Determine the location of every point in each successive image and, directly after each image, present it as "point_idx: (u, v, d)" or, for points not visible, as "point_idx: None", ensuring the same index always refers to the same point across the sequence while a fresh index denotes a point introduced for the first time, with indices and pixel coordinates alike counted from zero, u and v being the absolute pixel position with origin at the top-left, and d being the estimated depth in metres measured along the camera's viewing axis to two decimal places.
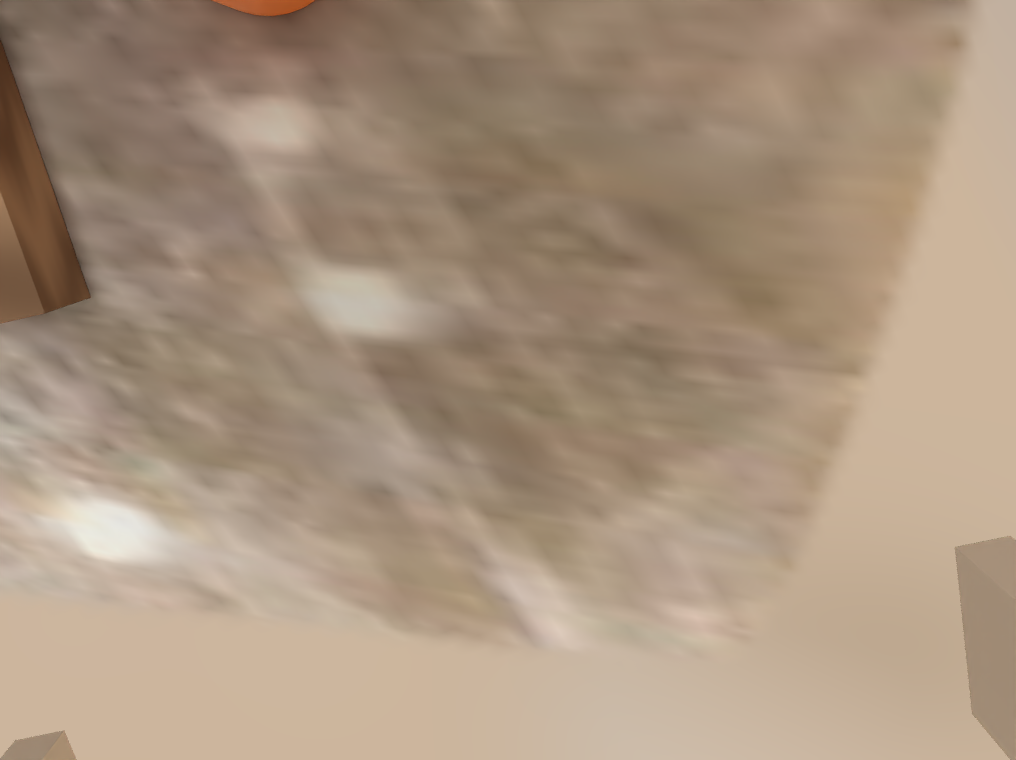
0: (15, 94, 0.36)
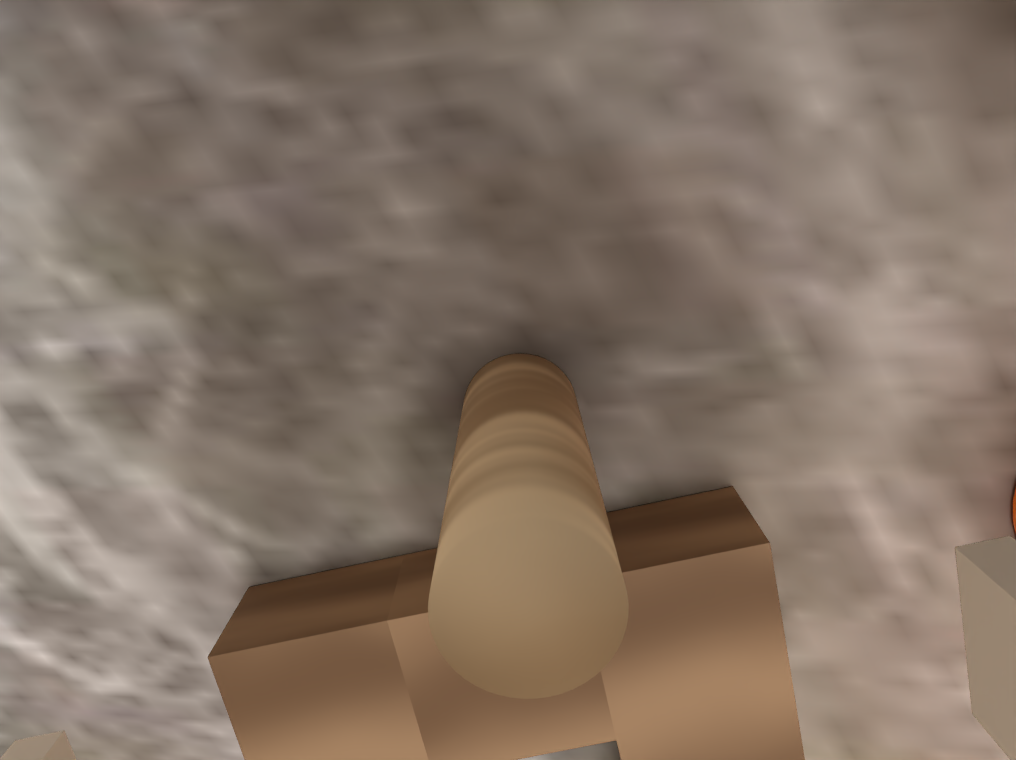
0: None
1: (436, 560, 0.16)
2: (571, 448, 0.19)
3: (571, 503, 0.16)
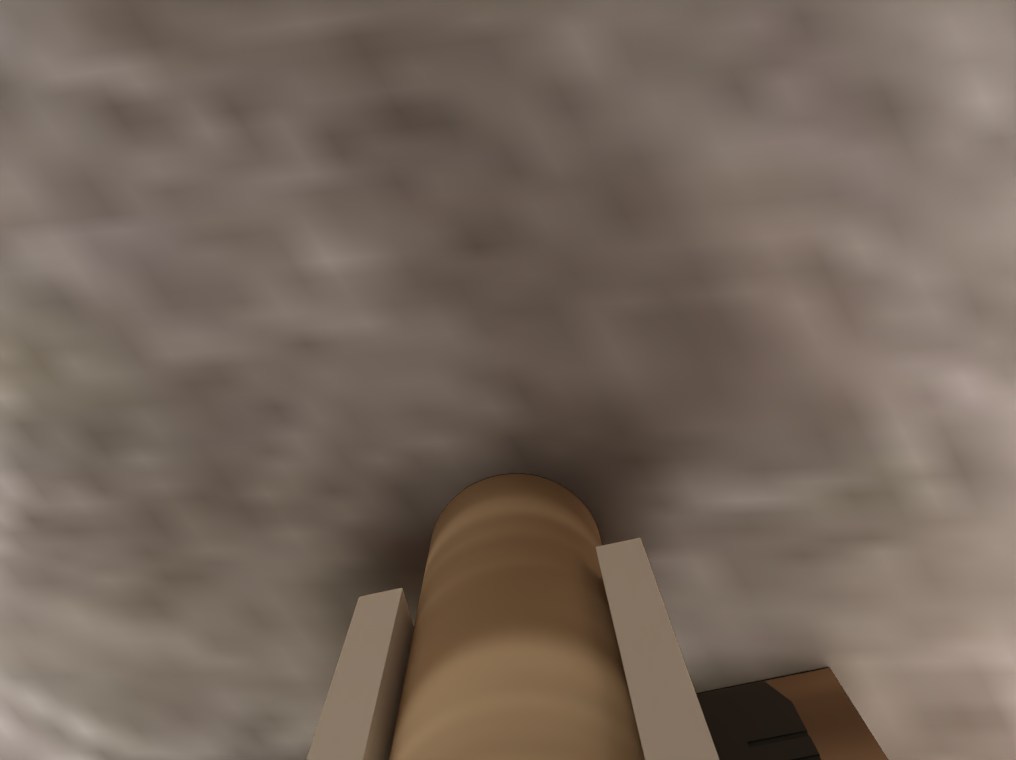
0: None
1: None
2: (615, 740, 0.10)
3: None
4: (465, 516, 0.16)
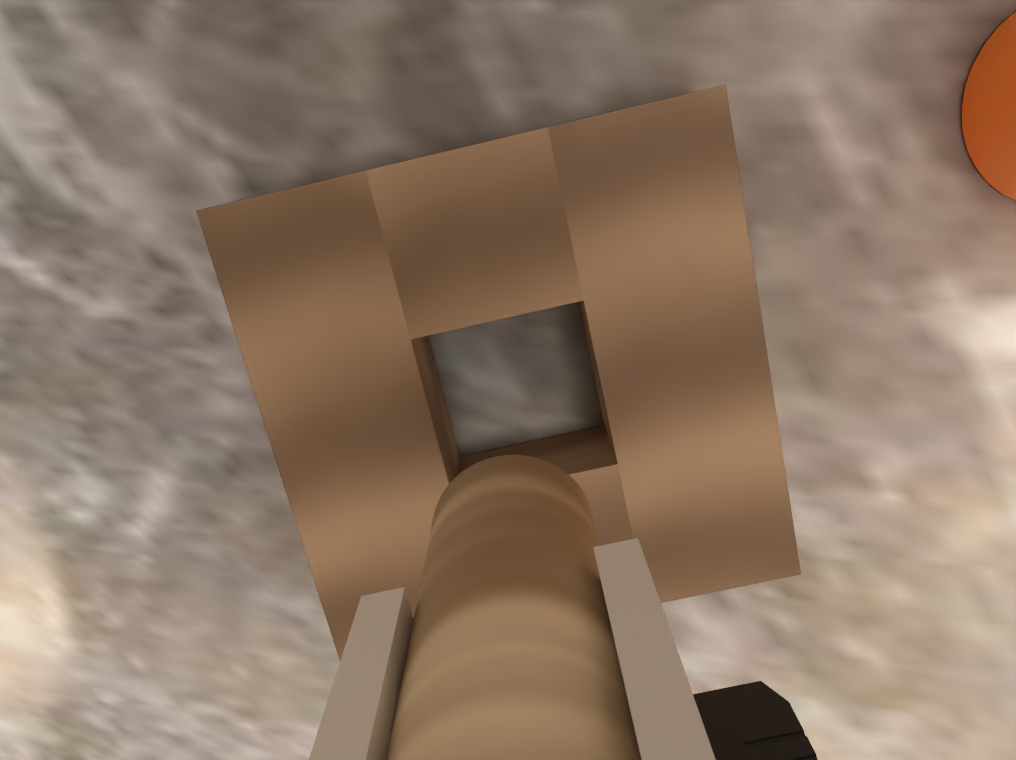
0: None
1: None
2: (602, 683, 0.11)
3: None
4: (466, 493, 0.17)
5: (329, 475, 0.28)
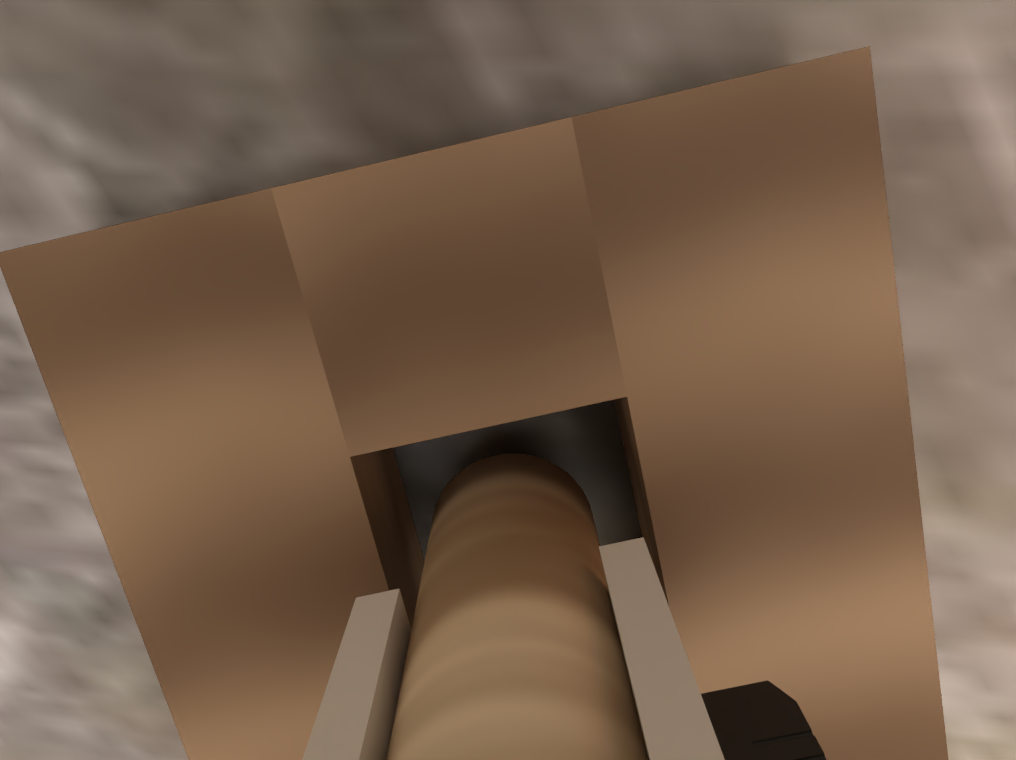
0: None
1: None
2: (602, 680, 0.11)
3: None
4: (466, 492, 0.17)
5: (227, 660, 0.18)
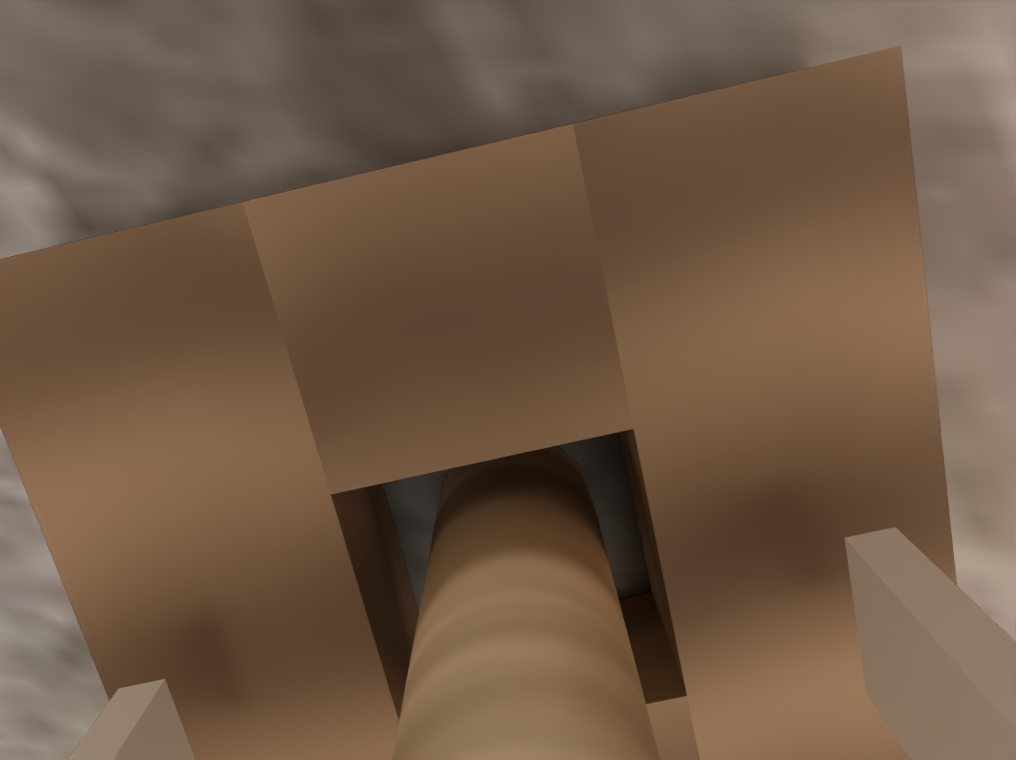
0: None
1: None
2: (598, 627, 0.12)
3: None
4: (472, 469, 0.18)
5: (198, 714, 0.16)
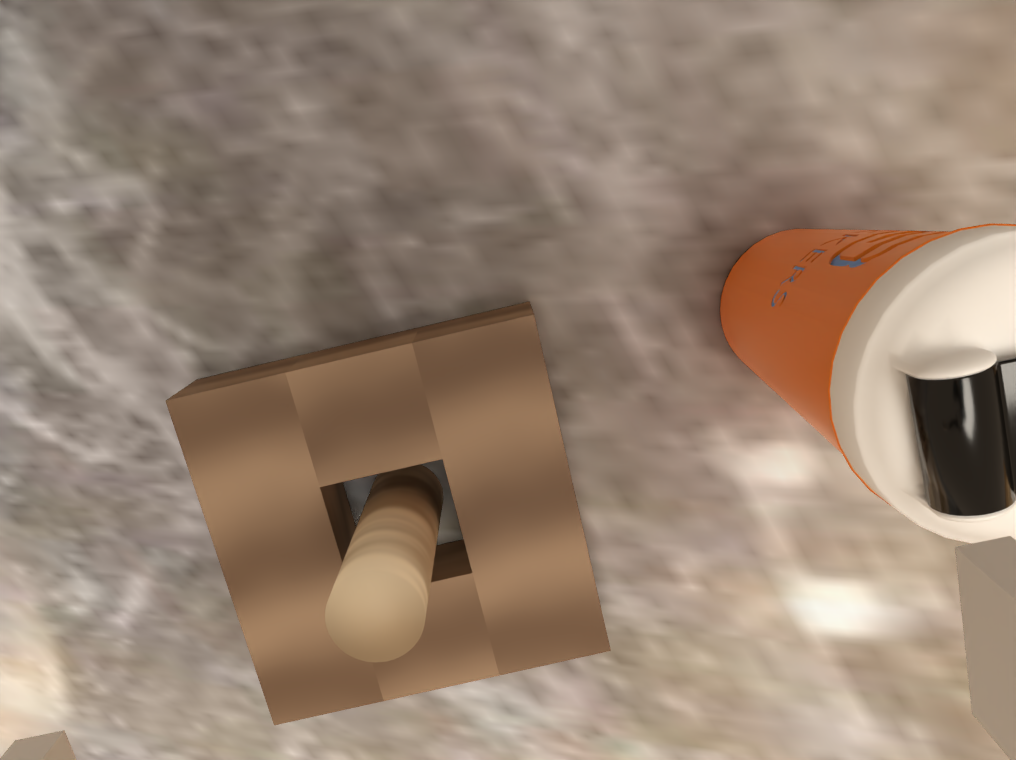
0: None
1: None
2: (414, 529, 0.34)
3: (399, 562, 0.31)
4: (383, 477, 0.40)
5: (262, 583, 0.38)
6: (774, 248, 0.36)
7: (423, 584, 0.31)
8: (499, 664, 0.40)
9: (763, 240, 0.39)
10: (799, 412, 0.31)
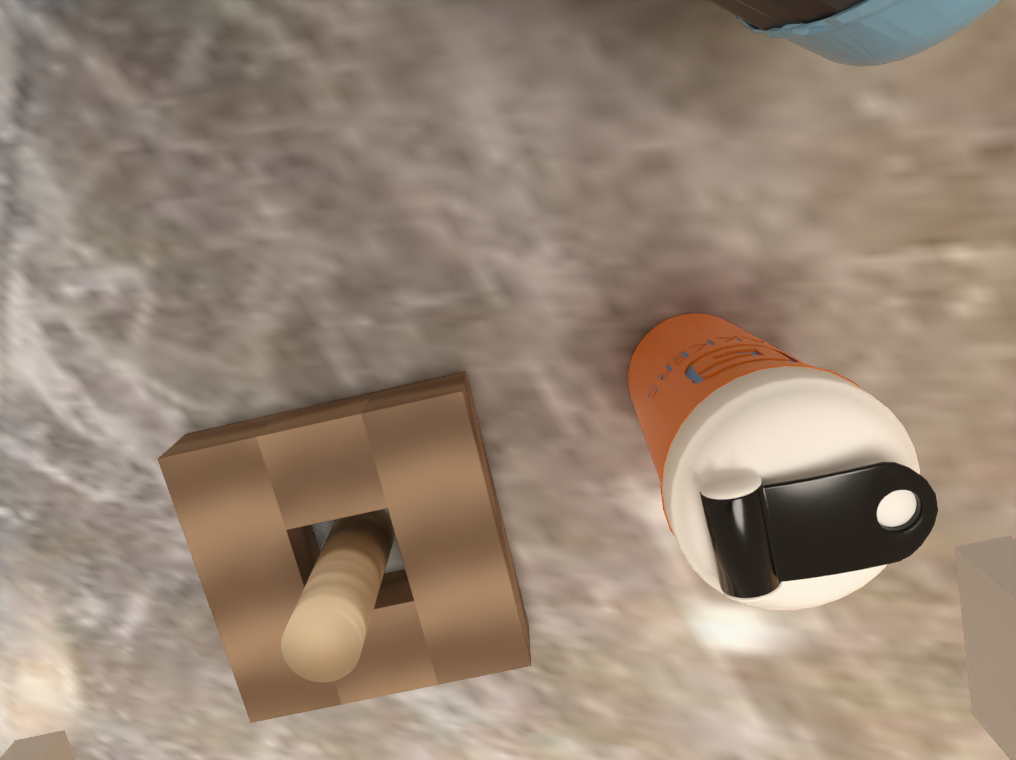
0: (495, 492, 0.48)
1: None
2: (359, 570, 0.42)
3: (342, 603, 0.38)
4: (341, 518, 0.48)
5: (239, 607, 0.46)
6: (664, 337, 0.43)
7: (361, 620, 0.39)
8: (438, 675, 0.47)
9: (662, 323, 0.46)
10: None
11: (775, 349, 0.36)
